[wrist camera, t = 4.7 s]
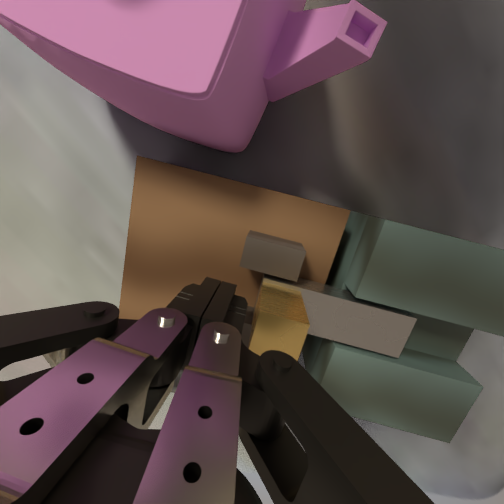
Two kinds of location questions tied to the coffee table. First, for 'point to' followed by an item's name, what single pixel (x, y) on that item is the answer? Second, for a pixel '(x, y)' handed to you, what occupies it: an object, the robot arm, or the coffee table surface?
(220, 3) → the teapot
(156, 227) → the block set
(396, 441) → the coffee table surface
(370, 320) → the yellow-capped grey beam
